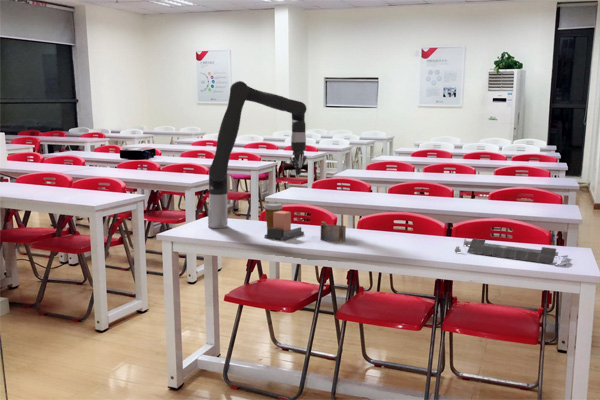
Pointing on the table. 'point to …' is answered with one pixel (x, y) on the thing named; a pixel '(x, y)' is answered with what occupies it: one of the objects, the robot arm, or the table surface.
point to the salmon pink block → (282, 220)
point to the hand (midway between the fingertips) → (298, 174)
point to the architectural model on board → (333, 232)
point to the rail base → (283, 233)
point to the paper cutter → (513, 251)
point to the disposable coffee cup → (271, 212)
